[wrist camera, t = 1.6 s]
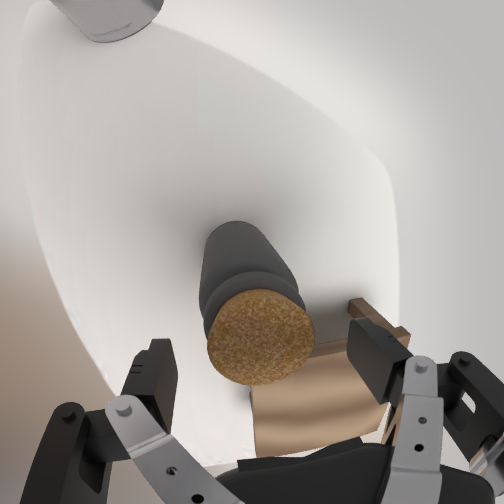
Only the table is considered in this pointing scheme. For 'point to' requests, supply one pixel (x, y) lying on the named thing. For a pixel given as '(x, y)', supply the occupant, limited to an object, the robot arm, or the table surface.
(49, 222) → the table surface
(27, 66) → the table surface
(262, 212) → the table surface
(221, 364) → the bottle
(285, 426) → the wooden bench
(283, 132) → the table surface
